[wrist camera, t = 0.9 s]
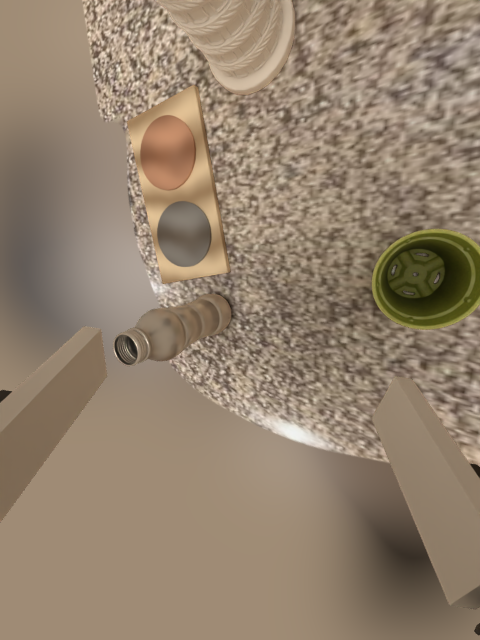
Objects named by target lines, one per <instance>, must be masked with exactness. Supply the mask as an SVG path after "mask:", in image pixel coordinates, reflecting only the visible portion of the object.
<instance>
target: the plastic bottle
mask: <svg viewBox="0 0 480 640" xmlns="http://www.w3.org/2000/svg"><path fill="white" fill-rule="evenodd" d="M230 320H231V308H230V305H229V304H228V302H227V301H226V299H224V298H223V297H222V296H220V295H217V294H205V295H203V296H201V297H199V298H197V299H196V300H195V301H193V302H191V303H188V304H186V305H182V306H177V307H168V308H158V309H152V310H150V311H148V312H147V313H145V314H144V315H143V316H142V317H141V318H140V319H139V321H138V322H137V324H136V326H135V328H131V329H128V330H127V331H125V332H123V333H120V334H118V335H117V336H116V337H115V339H114V342H113V349H114V353H115V356H116V358H117V359H118V360H119V362H120V363H122V364H123V365H125V366H133V365H136V364H137V363H141V362H144V361H145V360H147V359H150V360H154V361H167V360H171V359H173V358H174V357H176V356H177V355H179V354H180V353H181V352H182V351H183V350H184V349H186V348H187V347H188V346H189V345H191V344H192V343H194V342H195V341H197V340H199V339H201V338H204V337H207V336H212V335H216V334H219V333H220V332H222V331H223V330H224V329H225V328H226V327H227V326H228V324H229V323H230Z"/></svg>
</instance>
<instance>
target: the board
mask: <svg viewBox="0 0 480 640" xmlns="http://www.w3.org/2000/svg"><path fill="white" fill-rule="evenodd" d="M127 124H128V129H129V133H130V138H131V142H132V147H133V152H134V156H135V161H136V165H137V170H138V174H139V179H140V183H141V188H142V192H143V197H144V201H145V206H146V210H147V215H148V219H149V224H150V229H151V233H152V238H153V242H154V247H155V251H156V256H157V260H158V265H159V269H160V274H161V278H162V283H163V284H166V283H171V282H177V281H183V280H188V279H194V278H200V277H205V276H211V275H217V274H222V273H228V272H230V266H229V260H228V255H227V249H226V243H225V238H224V232H223V226H222V221H221V215H220V210H219V204H218V198H217V193H216V187H215V181H214V176H213V170H212V164H211V159H210V153H209V147H208V142H207V136H206V130H205V125H204V119H203V113H202V108H201V102H200V96H199V91H198V88H197V87H196V86H195V85H192V86H191V87H189V88H187V89H185V90H183V91H182V92H180V93H178V94H176V95H174V96H172V97H171V98H169V99H167V100H165V101H163V102H162V103H160V104H158V105H156V106H154V107H152V108H151V109H149V110H147V111H145V112H143V113H142V114H140V115H138V116H136V117H134V118H132V119H131V120H129V121H127Z"/></svg>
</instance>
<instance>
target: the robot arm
mask: <svg viewBox="0 0 480 640" xmlns="http://www.w3.org/2000/svg"><path fill="white" fill-rule="evenodd" d="M106 377H107V370H106V363H105V356H104V348H103V340H102V332H101V329H98V328H91V327H85V326H84V327H83V328H82V329H80V330H79V331H78V332H77V333H76V334H75V335H74V336H73V337H72V338H71V339H70V340H68V341H67V342H66V343H65V344H64V345H63V346H62V347H61V348H60V349H58V350H57V351H56V353H54V354H53V355H52V356H51V357H50V358H49V359H48V360H47V361H45V362H44V363H43V364H42V365H41V366H40V367H39V368H38V369H37V370H36V371H34V373H32V374H31V375H30V376H29V377H28V378H27V379H26V380H25V381H24V382H23V383H21V384H20V385H19V386H18V387H17V388H16V389H15V390H14V391H13V392H12V391H6V390H1V391H0V523H1V521H2V520H3V518H4V517H5V516H6V514H7V513H8V512H9V510H10V509H11V507H12V506H13V505H14V503H15V502H16V501H17V499H18V498H19V497H20V495H21V494H22V492H23V491H24V490H25V488H26V487H27V486H28V484H29V483H30V481H31V480H32V479H33V477H34V476H35V475H36V473H37V472H38V470H39V469H40V468H41V466H42V465H43V464H44V462H45V461H46V460H47V458H48V457H49V455H50V454H51V453H52V451H53V450H54V448H55V447H56V446H57V444H58V443H59V442H60V440H61V439H62V438H63V436H64V435H65V433H66V432H67V430H68V429H69V428H70V427H71V425H72V424H73V423H74V421H75V420H76V418H77V417H78V416H79V414H80V413H81V411H82V410H83V409H84V408H85V406H86V405H87V403H88V402H89V401H90V399H91V398H92V396H93V395H94V394H95V392H96V391H97V390H98V388H99V387H100V386H101V384H102V383H103V381H104V380H105V379H106ZM372 421H373V423H374V426H375V428H376V430H377V433H378V435H379V438H380V440H381V442H382V445H383V447H384V450H385V452H386V454H387V457H388V459H389V462H390V464H391V466H392V469H393V471H394V474H395V476H396V478H397V481H398V483H399V485H400V487H401V490H402V493H403V495H404V497H405V500H406V502H407V505H408V507H409V510H410V512H411V514H412V517H413V519H414V522H415V524H416V526H417V529H418V531H419V533H420V536H421V538H422V541H423V543H424V545H425V548H426V550H427V553H428V555H429V558H430V560H431V562H432V565H433V567H434V570H435V572H436V574H437V577H438V579H439V581H440V584H441V586H442V589H443V591H444V593H445V596H446V598H447V601H448V603H449V605H451V606H457V607H463V608H470V609H477V608H479V607H480V467H479V466H478V465H476V464H469V462H468V461H467V459H466V458H465V456H464V455H463V453H462V452H461V450H460V449H459V447H458V446H457V444H456V443H455V441H454V440H453V439H452V437H451V436H450V434H449V433H448V431H447V430H446V428H445V427H444V425H443V424H442V422H441V421H440V419H439V418H438V416H437V415H436V413H435V412H434V410H433V409H432V408H431V406H430V405H429V403H428V402H427V400H426V399H425V397H424V396H423V394H422V393H421V391H420V390H419V388H418V387H417V385H416V384H415V382H414V381H413V380H412V379H409V378H403V377H397V376H395V377H394V379H393V381H392V383H391V384H390V386H389V388H388V390H387V392H386V393H385V395H384V397H383V399H382V401H381V402H380V404H379V406H378V408H377V410H376V411H375V413H374V415H373V417H372ZM474 631H475V633H476V634H478V635H480V623H479V624H478V625H477V626H476V628H475V630H474Z"/></svg>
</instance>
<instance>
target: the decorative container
mask: <svg viewBox="0 0 480 640" xmlns="http://www.w3.org/2000/svg"><path fill="white" fill-rule="evenodd" d="M155 1H156V2H157V3H158V4H160V5H161V6H163V7H164V8H166V9H167V11H168V13H169V15H170V17H171V18H172V20H173V21H174V22H175V23H176V25H177V26H178V27H179V28H180V29H182V30H183V31H185V32H186V33H187V35H188V37H189V39H190V41H191V42H192V43H193V44H194V45H195V47H197V48H198V49H199V50H200V51H202V52H203V54H204V56H205V58H206V59H207V60H208V63H209V66H210V69H211V72H212V73H213V75H214V76H215V78H216V80H217V81H218V82H219V83H220V84H221V85H222V86H223V87H224V88H225V89H226V90H228V91H229V92H232V93H234V94H237V95H249V94H252V93H255V92H258V91H260V90H261V89H263V88H264V87H265V86H267V85H268V84H270V83H271V81H272V80H273V79H274V78H275V77H276V76H277V75H278V74H279V72H280V71H281V69H282V68H283V66H284V64H285V63H286V61H287V59H288V56H289V54H290V51H291V48H292V46H293V41H294V35H295V30H296V26H295V11H294V7H293V4H292V0H155Z"/></svg>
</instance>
